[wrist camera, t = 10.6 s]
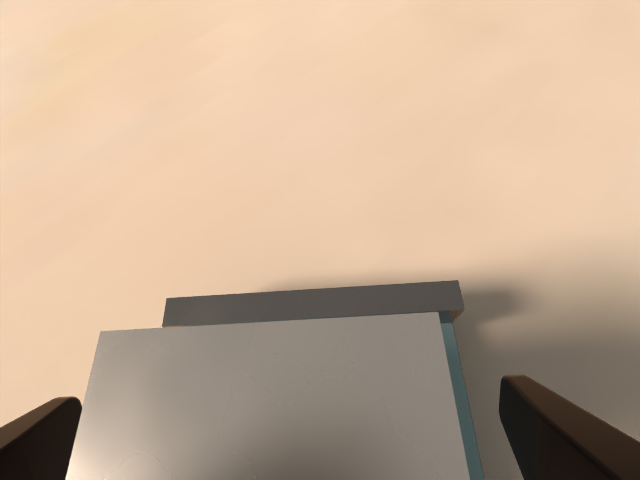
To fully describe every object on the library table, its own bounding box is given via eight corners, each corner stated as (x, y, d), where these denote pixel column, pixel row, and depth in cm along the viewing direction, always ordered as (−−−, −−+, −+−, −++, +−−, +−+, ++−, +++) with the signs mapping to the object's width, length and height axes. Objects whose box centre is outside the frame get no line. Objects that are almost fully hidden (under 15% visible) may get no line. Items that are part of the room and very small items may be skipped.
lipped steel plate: (506, 653, 12) (557, 725, 9) (157, 657, 13) (97, 727, 10) (439, 306, 18) (458, 280, 15) (197, 320, 19) (166, 298, 16)
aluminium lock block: (405, 535, 13) (522, 757, 4) (235, 539, 13) (0, 755, 4) (387, 374, 15) (434, 295, 7) (244, 381, 16) (104, 315, 7)
